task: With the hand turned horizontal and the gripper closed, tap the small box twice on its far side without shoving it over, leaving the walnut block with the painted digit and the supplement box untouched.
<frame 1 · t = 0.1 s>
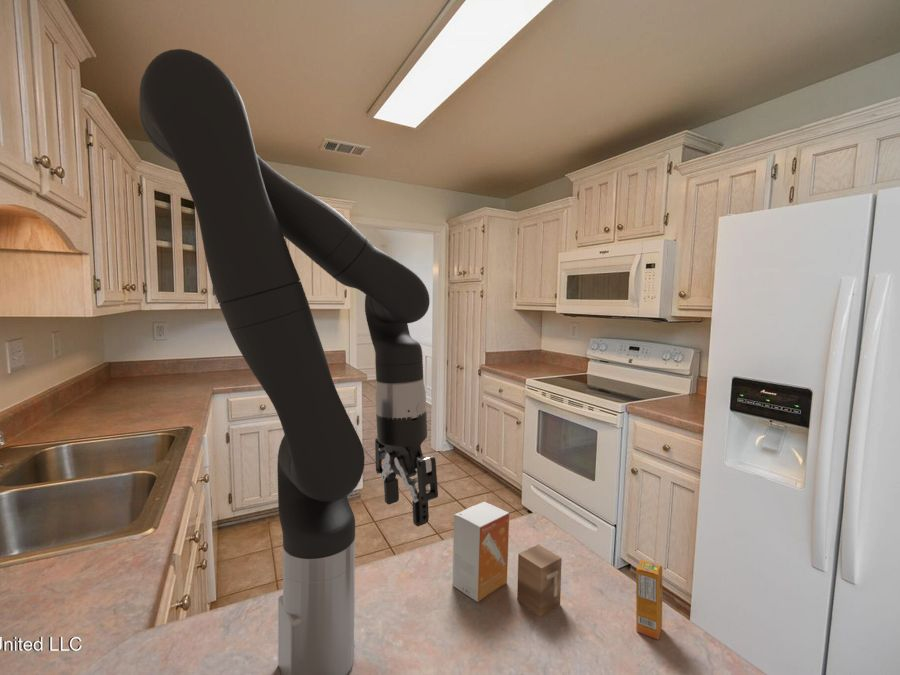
hand: (405, 512, 63), 17 cm above the countertop, tool pointing down, fingers open, 8 cm apart
supplement box: (647, 631, 64), on the countertop
walnut digit block: (538, 602, 69), on the countertop
small box: (480, 585, 74), on the countertop
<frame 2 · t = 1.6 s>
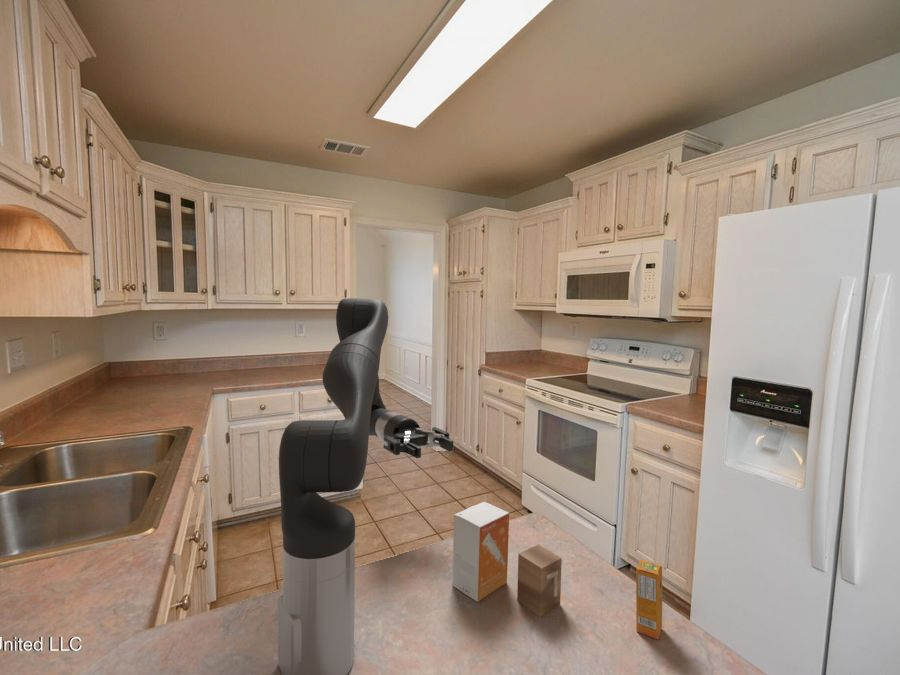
hand: (436, 449, 85), 20 cm above the countertop, tool horizontal, fingers open, 7 cm apart
nothing on the countertop moved.
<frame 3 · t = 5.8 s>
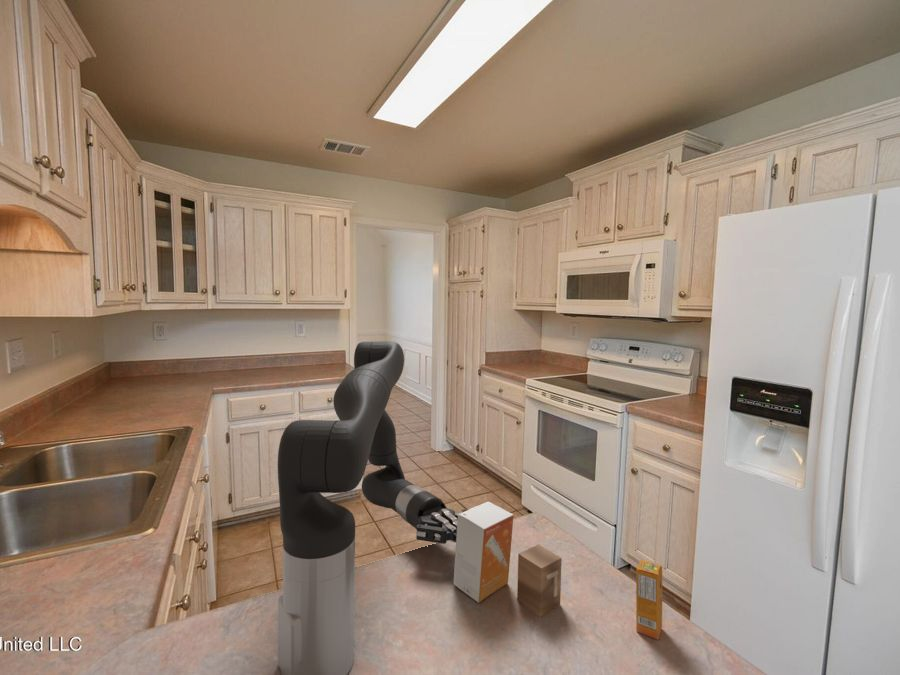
hand: (471, 543, 76), 6 cm above the countertop, tool horizontal, fingers closed
small box: (481, 585, 73), on the countertop, touching gripper
everything else where it was.
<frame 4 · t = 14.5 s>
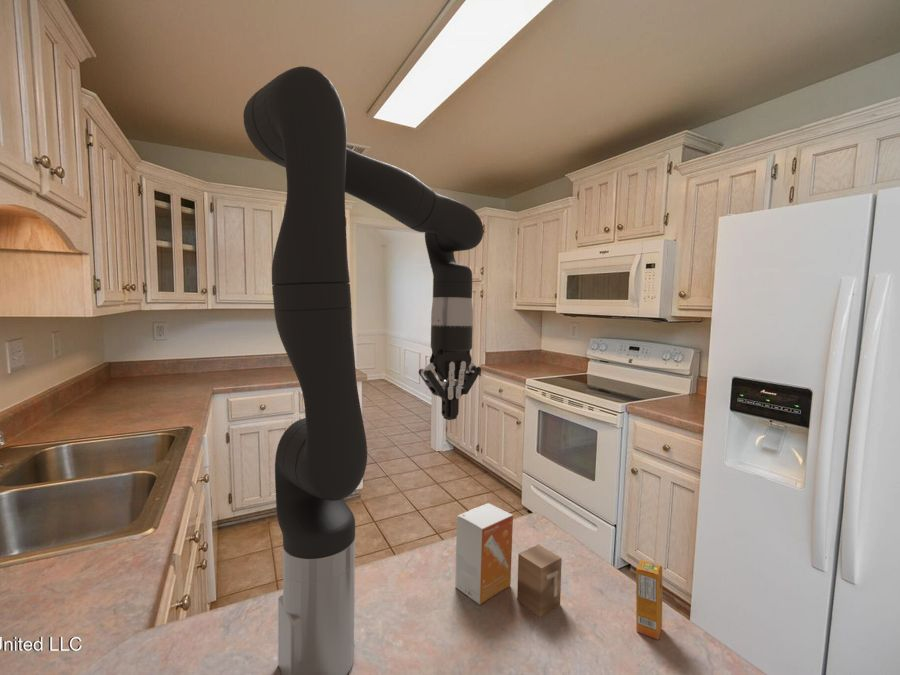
hand: (450, 418, 75), 29 cm above the countertop, tool pointing down, fingers closed
small box: (483, 587, 73), on the countertop
everything else where it was.
at the end: small box moved 0.8 cm from its start; small box tilted 0°; walnut digit block moved 0.1 cm from its start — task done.
